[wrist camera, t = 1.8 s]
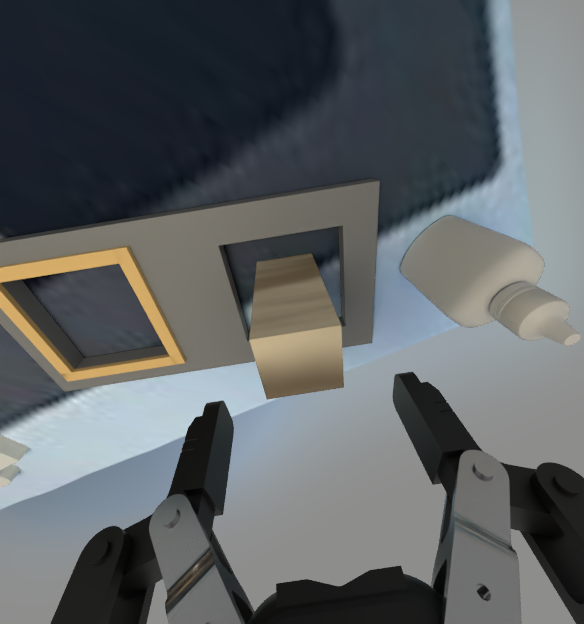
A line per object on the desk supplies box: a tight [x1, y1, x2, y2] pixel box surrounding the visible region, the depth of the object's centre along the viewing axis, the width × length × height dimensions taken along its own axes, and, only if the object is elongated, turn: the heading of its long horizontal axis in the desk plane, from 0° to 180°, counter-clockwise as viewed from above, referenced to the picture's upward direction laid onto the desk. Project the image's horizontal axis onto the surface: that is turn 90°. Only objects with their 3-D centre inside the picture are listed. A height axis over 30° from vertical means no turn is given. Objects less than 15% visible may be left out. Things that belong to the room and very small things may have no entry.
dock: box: [0, 178, 380, 391], centre depth 21 cm, size 14×30×2 cm, turn 98°
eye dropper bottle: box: [400, 215, 581, 346], centre depth 16 cm, size 4×6×12 cm
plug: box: [249, 253, 344, 399], centre depth 18 cm, size 4×4×10 cm
